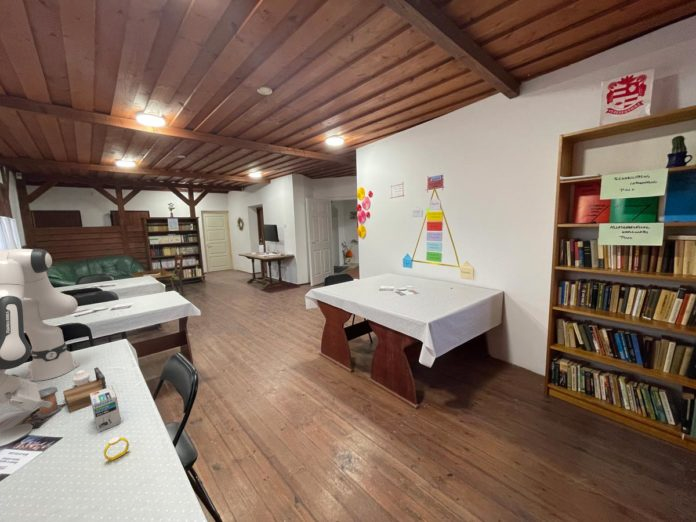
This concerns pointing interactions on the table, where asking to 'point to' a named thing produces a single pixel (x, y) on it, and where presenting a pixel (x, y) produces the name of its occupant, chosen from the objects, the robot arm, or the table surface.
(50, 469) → the table surface
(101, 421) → the light bulb box
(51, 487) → the table surface
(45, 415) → the cord spool
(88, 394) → the shelf stand
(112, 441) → the watch
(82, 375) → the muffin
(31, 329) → the robot arm
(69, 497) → the table surface
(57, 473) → the table surface
